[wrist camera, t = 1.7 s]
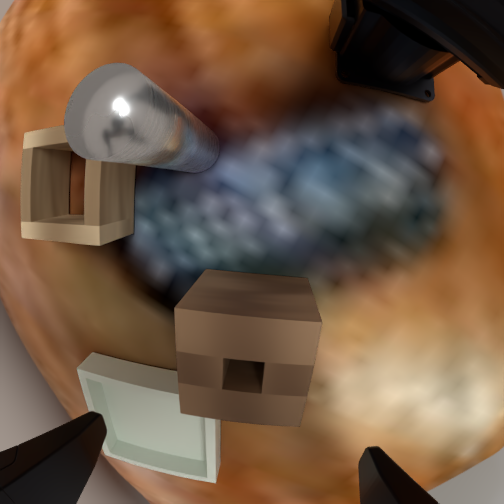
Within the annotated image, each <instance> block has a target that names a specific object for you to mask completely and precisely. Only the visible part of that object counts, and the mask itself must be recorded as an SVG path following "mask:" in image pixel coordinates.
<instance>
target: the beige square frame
mask: <svg viewBox="0 0 504 504" xmlns="http://www.w3.org/2000/svg"><path fill="white" fill-rule="evenodd" d="M71 151H73V150H72V148H71V147H70V145H69V143H68V141H67V139H66V135H65V129H64V125H61V126H56V127H51V128H46V129H41V130H36V131H32V132H27V133H25V134H24V143H23V154H22V168H21V232H22V238H28V239H38V240H47V241H57V242H67V243H76V244H86V245H96V246H101V245H103V244H106V243H109V242H111V241H114V240H117V239H119V238H122V237H125V236H128V235H130V234H133V224H134V187H135V169H136V165H133V164H124V163H115V162H106V161H95V160H88V159H86V168H85V190H84V215H71V214H69V176H70V159H71Z"/></svg>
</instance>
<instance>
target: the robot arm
mask: <svg viewBox="0 0 504 504" xmlns="http://www.w3.org/2000/svg"><path fill="white" fill-rule="evenodd" d="M329 33H330V48H331V49H332V51H336V78H337V79H338V81H340V82H342V83H345V84H351V85H356V86H362V87H367V88H372V89H376V90H381V91H385V92H390V93H394V94H398V95H402V96H406V97H409V98H413V99H417V100H420V101H424V102H430V101H432V100H433V99H434V97H435V93H434V79H433V77H435V76H436V75H438V74H439V73H441V72H443V71H444V70H446V69H447V68H449V67H450V66H452V65H454V64H455V63H457V62H459V61H461V62H462V63H464V64H465V65H466V66H467V67H469V68H470V69H471V70H472V71H473V72H474V73H476V74H477V77H478V78H479V79H480V80H481V81H482V82H483V83H484V84H488V85H492V86H494V87H498V88H501V89H504V0H335V1H334V4H333V8H332V11H331V14H330V17H329ZM342 72H344V73H346V74H347V75H348V77H346V78H345V77H343V76H342V75H341V73H342ZM425 92H427V93H428V95H429V97H427V96H426V95H425ZM106 435H107V427H106V424H105V421H104V418H103V415H102V414H100V413H97V412H94V411H90V412H88V413H86V414H84V415H82V416H80V417H78V418H76V419H74V420H72V421H70V422H68V423H66V424H63V425H61V426H59V427H57V428H55V429H53V430H50V431H49V432H46V433H44V434H42V435H40V436H38V437H35V438H33V439H31V440H28V441H26V442H24V443H21V444H19V445H18V446H14V447H12V448H9V449H7V450H4V451H1V452H0V504H76V503H77V501H78V499H79V497H80V495H81V493H82V491H83V489H84V487H85V485H86V483H87V481H88V479H89V477H90V475H91V473H92V471H93V469H94V467H95V465H96V462H97V460H98V457H99V454H100V451H101V449H102V446H103V443H104V440H105V438H106ZM358 468H359V488H360V504H438V502H437V501H436V500H435V499H434V498H433V497H432V496H431V495H430V494H428V493H427V492H426V491H425V490H424V489H423V488H422V487H421V486H420V485H419V484H418V483H417V482H415V481H414V480H413V479H412V478H411V477H410V476H409V475H408V474H407V473H406V472H405V471H404V470H403V469H402V468H401V467H400V466H398V465H397V464H396V463H395V462H394V461H393V460H392V459H391V458H390V457H389V456H388V455H387V454H386V453H385V452H384V451H383V450H382V449H381V448H380V447H378V446H372V447H367V448H366V449H365V451H364V453H363V455H362V457H361V459H360V461H359V465H358Z"/></svg>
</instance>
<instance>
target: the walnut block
mask: <svg viewBox="0 0 504 504" xmlns="http://www.w3.org/2000/svg"><path fill="white" fill-rule="evenodd" d="M174 311H175V341H176V361H177V377H178V390H179V402H180V413H182V414H187V415H192V416H198V417H204V418H211V419H217V420H225V421H232V422H241V423H250V424H261V425H275V426H294V427H300V424H301V420H302V416H303V412H304V408H305V404H306V400H307V395H308V391H309V386H310V382H311V377H312V373H313V368H314V363H315V358H316V353H317V348H318V343H319V338H320V332H321V327H322V320H321V317H320V314H319V311H318V308H317V305H316V302H315V299H314V296H313V293H312V290H311V287H310V284H309V281H308V278H300V277H288V276H276V275H265V274H253V273H242V272H232V271H221V270H211V269H206V270H205V271H204V272H203V273H202V275H201V276H200V277H199V278H198V280H197V281H196V282H195V283H194V284H193V286H192V287H191V288H190V289H189V291H188V292H187V293H186V294H185V295H184V297H183V298H182V299H181V300H180V302H179V303H178V304H177V305H176V306H175V308H174Z"/></svg>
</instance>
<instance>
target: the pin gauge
mask: <svg viewBox="0 0 504 504" xmlns="http://www.w3.org/2000/svg"><path fill="white" fill-rule="evenodd" d="M64 129H65V135H66V139H67V141H68V143H69V145H70V147H71V148H72V150H73V151H74V152H75V153H76V154H78V155H79V156H81V157H82V158H85V159H88V160H95V161H106V162H115V163H124V164H133V165H141V166H149V167H156V168H164V169H171V170H178V171H185V172H191V173H198V172H203V171H205V170H207V169H209V168H210V167H211V166H212V165H213V164H214V163H215V162H216V160H217V158H218V156H219V151H220V144H219V140H218V138H217V136H216V134H215V133H214V132H213V131H212V130H211V129H209V128H208V127H207V126H206V125H205V124H204V123H202V122H201V121H200V120H199V119H198V118H197V117H195V116H194V115H193V114H192V113H191V112H189V111H188V110H187V109H186V108H185V107H183V106H182V105H181V104H180V103H179V102H177V101H176V100H175V99H174V98H172V97H171V96H170V95H169V94H168V93H166V92H165V91H164V90H163V89H161V88H160V87H159V86H158V85H156V84H155V83H154V82H152V81H151V80H150V79H149V78H147V77H146V76H145V75H144V74H142V73H141V72H140V71H138V70H137V69H136V68H134V67H132V66H131V65H128V64H124V63H111V64H107V65H104V66H101V67H99V68H97V69H95V70H94V71H92V72H91V73H90V74H88V75H87V76H86V77H85V78H84V79H83V80H82V81H81V82H80V83H79V85H78V86H77V87H76V89H75V90H74V92H73V93H72V95H71V97H70V99H69V102H68V105H67V108H66V112H65V119H64Z"/></svg>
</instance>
